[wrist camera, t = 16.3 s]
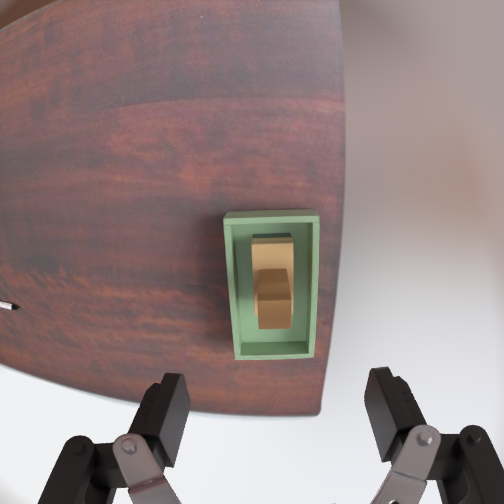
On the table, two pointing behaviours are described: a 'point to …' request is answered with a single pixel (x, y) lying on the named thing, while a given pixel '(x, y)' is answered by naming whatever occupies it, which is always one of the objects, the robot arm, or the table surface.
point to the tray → (241, 283)
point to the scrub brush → (273, 279)
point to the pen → (8, 306)
